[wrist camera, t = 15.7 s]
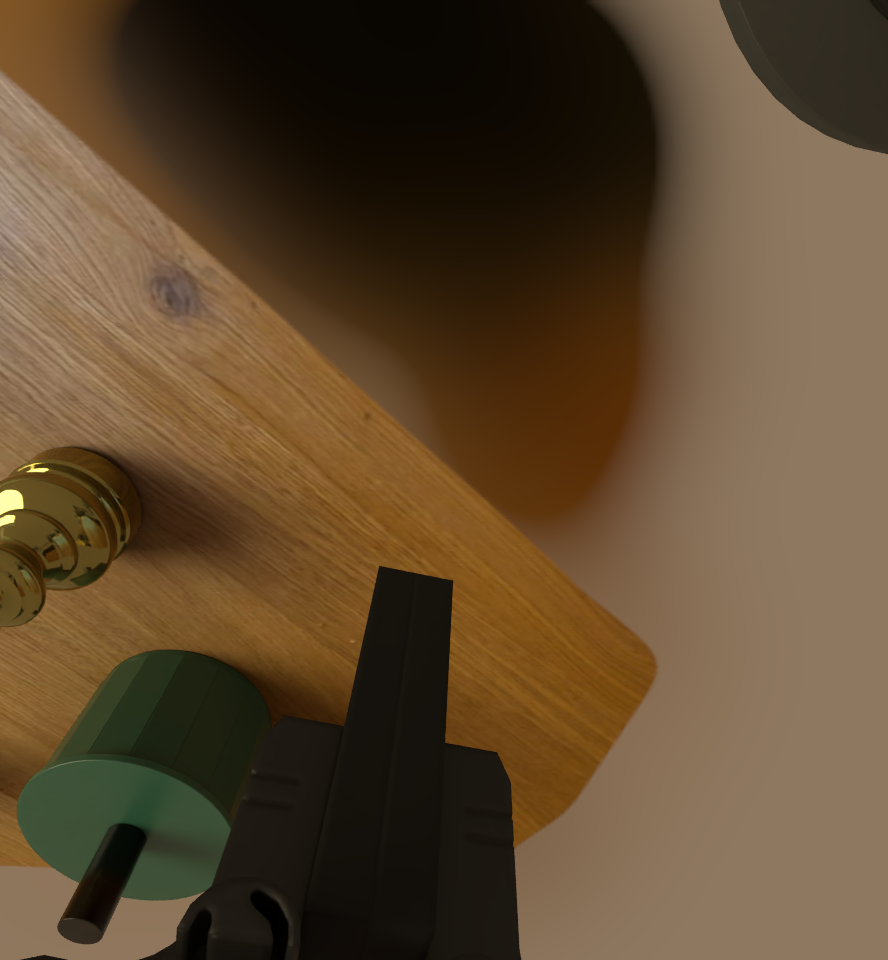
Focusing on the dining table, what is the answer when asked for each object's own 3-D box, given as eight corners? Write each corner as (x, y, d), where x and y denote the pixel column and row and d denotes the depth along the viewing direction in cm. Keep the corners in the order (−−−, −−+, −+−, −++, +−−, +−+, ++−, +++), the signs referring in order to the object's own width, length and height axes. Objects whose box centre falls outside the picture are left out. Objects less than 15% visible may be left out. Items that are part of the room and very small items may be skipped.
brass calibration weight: (167, 493, 40) (80, 595, 32) (111, 570, 43) (17, 683, 34) (53, 420, 38) (-73, 506, 30) (3, 505, 41) (-126, 607, 32)
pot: (259, 651, 46) (213, 760, 38) (281, 775, 52) (245, 892, 44) (82, 647, 46) (0, 754, 38) (123, 770, 52) (59, 886, 44)
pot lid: (223, 747, 38) (177, 858, 32) (255, 887, 44) (221, 1002, 38) (-2, 741, 39) (-86, 849, 33) (60, 880, 45) (-2, 992, 39)
